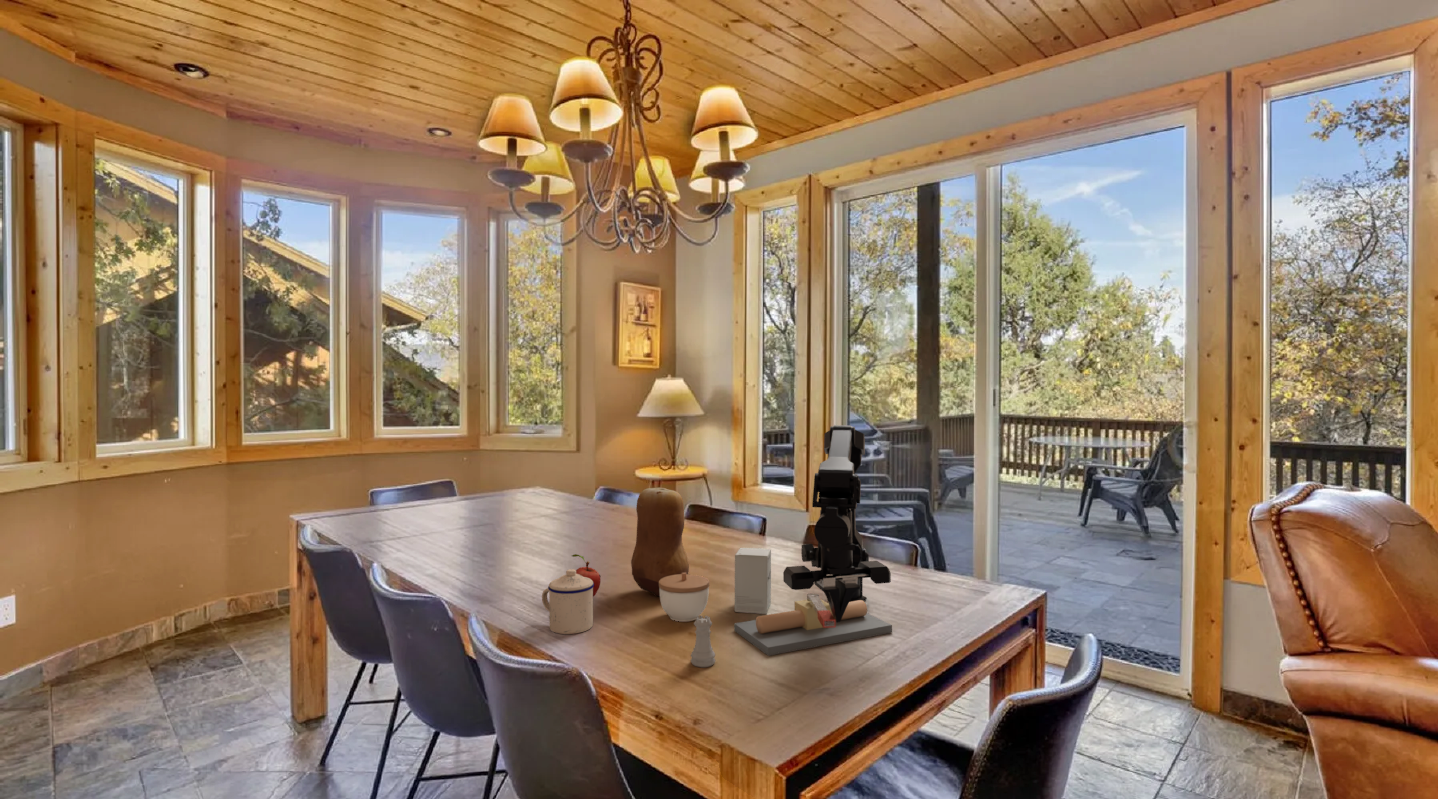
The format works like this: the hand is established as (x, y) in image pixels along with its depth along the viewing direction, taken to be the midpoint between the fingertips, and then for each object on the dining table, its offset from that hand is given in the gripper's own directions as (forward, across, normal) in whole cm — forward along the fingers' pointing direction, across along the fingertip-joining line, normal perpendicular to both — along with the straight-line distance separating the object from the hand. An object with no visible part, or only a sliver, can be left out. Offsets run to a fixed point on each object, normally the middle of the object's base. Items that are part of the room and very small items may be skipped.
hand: (837, 621), depth 123 cm
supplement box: (+6, +9, -28) cm, 30 cm away
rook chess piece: (+6, +25, -1) cm, 25 cm away
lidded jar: (+6, +24, -26) cm, 36 cm away
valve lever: (0, +2, -5) cm, 5 cm away
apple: (+5, +45, -44) cm, 63 cm away
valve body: (+6, +1, -12) cm, 13 cm away
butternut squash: (+6, +28, -44) cm, 52 cm away
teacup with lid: (+5, +49, -25) cm, 55 cm away
